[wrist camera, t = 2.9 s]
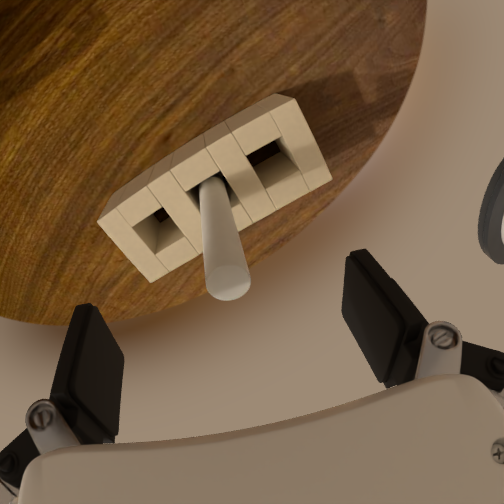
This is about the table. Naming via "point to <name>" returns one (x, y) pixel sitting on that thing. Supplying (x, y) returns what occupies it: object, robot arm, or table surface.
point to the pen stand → (204, 166)
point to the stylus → (221, 242)
